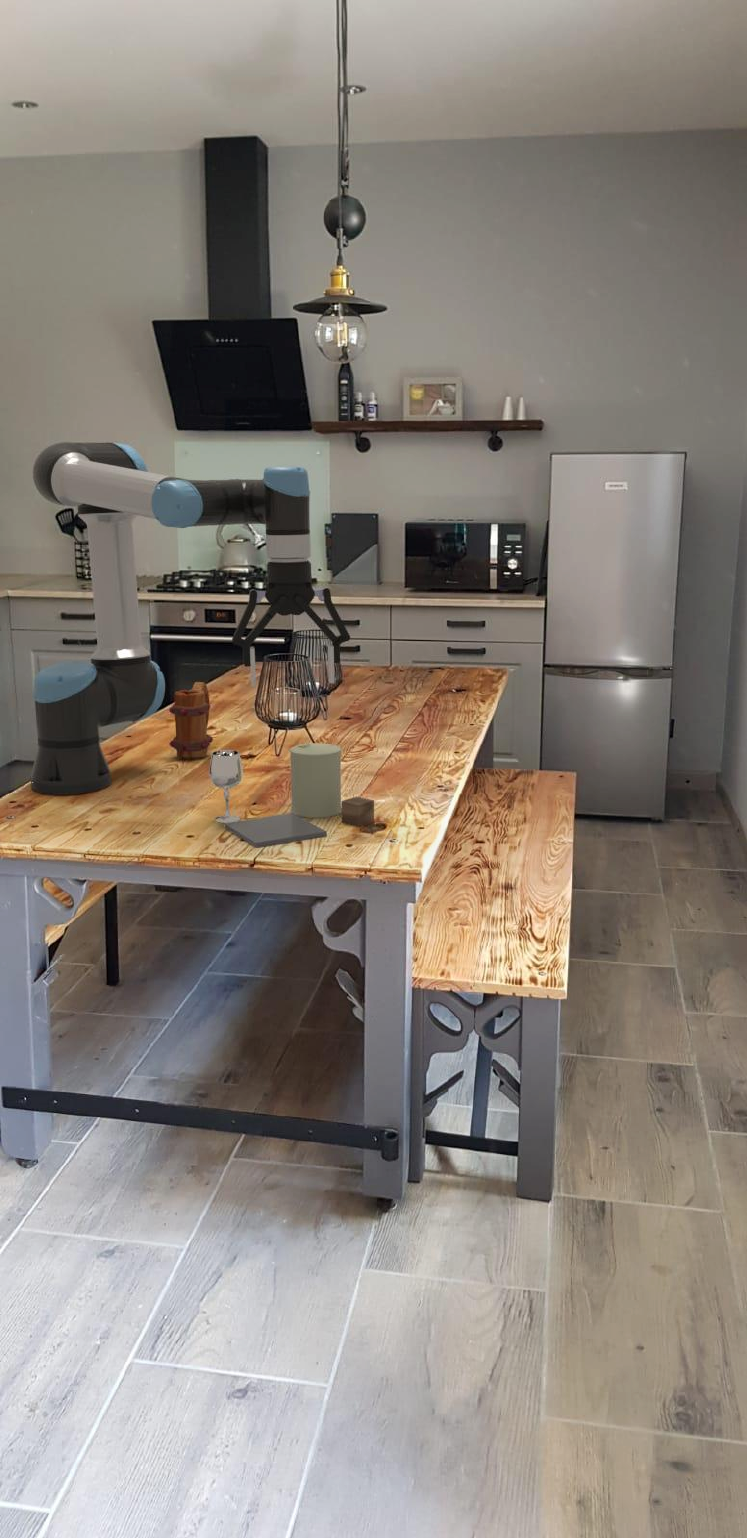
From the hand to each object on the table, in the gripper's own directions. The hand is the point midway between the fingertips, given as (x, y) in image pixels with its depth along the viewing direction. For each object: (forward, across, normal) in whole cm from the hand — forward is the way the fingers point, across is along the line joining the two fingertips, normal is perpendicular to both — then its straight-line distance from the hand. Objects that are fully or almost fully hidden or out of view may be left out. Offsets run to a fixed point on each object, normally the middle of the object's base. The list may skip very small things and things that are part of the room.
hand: (292, 683), depth 213 cm
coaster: (+24, +4, +10) cm, 26 cm away
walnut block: (+24, -10, +6) cm, 27 cm away
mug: (+23, +18, -50) cm, 58 cm away
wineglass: (+24, +12, +1) cm, 27 cm away
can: (+24, -4, -2) cm, 24 cm away
